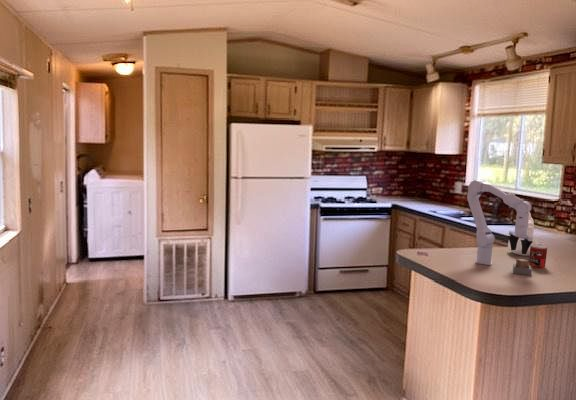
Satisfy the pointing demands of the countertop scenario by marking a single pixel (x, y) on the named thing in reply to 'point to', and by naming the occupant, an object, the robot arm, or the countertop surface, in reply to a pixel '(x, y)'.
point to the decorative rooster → (519, 245)
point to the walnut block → (522, 263)
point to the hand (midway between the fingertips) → (518, 251)
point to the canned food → (537, 256)
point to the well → (522, 270)
